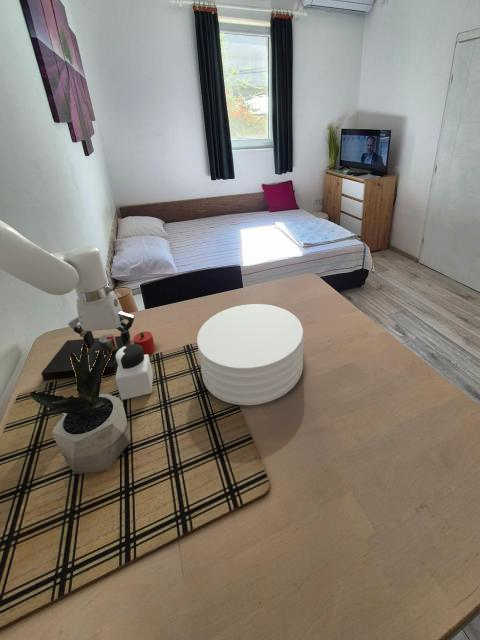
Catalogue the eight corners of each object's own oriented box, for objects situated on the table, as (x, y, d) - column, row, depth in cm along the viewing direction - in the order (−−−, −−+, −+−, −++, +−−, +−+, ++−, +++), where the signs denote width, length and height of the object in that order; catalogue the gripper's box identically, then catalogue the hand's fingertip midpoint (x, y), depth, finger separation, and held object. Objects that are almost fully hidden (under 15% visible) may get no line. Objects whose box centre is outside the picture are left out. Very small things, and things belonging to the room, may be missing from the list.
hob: (43, 380, 87) (40, 372, 86) (69, 347, 100) (66, 339, 99) (118, 373, 89) (116, 365, 88) (134, 341, 102) (132, 334, 101)
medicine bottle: (153, 374, 89) (145, 338, 84) (151, 393, 82) (143, 355, 78) (124, 380, 87) (114, 344, 82) (121, 401, 80) (110, 362, 76)
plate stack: (214, 421, 74) (209, 383, 70) (194, 349, 98) (189, 317, 94) (321, 383, 85) (322, 347, 80) (279, 326, 108) (278, 296, 104)
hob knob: (100, 355, 92) (95, 342, 90) (105, 346, 96) (101, 333, 94) (114, 354, 92) (111, 340, 91) (119, 345, 96) (116, 332, 94)
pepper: (134, 356, 95) (129, 338, 93) (139, 345, 100) (135, 327, 97) (152, 355, 96) (148, 336, 93) (156, 344, 101) (153, 326, 98)
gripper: (132, 282, 91) (143, 333, 98) (66, 287, 89) (83, 338, 96) (122, 296, 84) (136, 349, 91) (51, 301, 82) (70, 355, 89)
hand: (109, 343), depth 93 cm, fingers open, 9 cm apart
